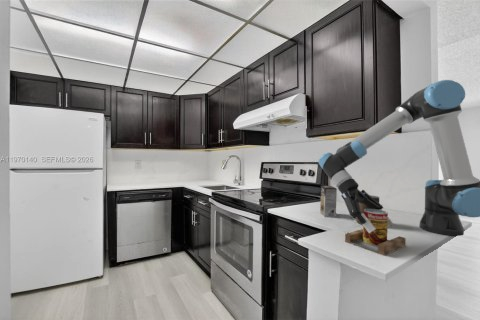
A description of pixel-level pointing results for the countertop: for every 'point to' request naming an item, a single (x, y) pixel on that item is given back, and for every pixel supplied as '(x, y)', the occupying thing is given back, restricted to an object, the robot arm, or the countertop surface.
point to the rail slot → (382, 248)
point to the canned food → (376, 227)
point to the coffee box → (328, 201)
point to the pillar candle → (363, 206)
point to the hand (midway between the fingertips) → (381, 228)
